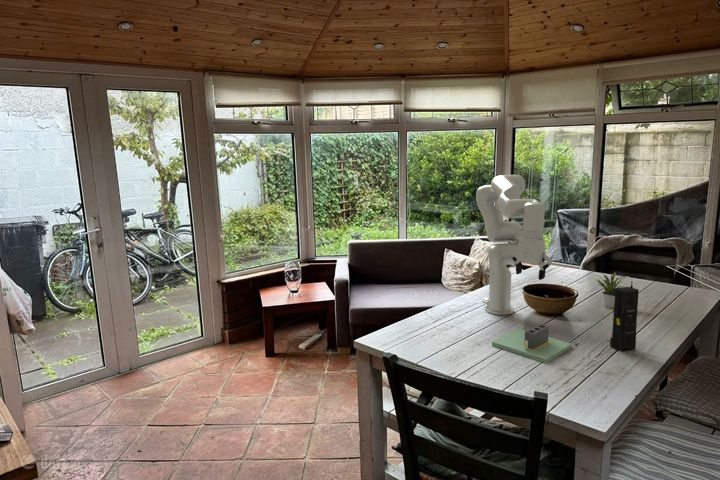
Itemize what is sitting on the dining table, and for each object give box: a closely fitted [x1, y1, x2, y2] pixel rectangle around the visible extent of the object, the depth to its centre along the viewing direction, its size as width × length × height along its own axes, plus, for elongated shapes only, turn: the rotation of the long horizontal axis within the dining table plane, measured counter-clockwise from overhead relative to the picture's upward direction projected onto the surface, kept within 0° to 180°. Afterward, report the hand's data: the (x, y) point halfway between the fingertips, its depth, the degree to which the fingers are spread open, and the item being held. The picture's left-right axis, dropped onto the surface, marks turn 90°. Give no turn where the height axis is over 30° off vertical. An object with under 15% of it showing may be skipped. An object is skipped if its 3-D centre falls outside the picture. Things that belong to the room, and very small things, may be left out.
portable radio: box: [609, 281, 640, 352], centre depth 175 cm, size 8×6×25 cm
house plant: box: [595, 272, 631, 309], centre depth 222 cm, size 14×14×16 cm
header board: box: [491, 328, 573, 364], centre depth 180 cm, size 22×19×5 cm
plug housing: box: [524, 323, 550, 350], centre depth 178 cm, size 4×11×6 cm, turn 131°
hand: (529, 276), depth 188 cm, fingers open, 9 cm apart
